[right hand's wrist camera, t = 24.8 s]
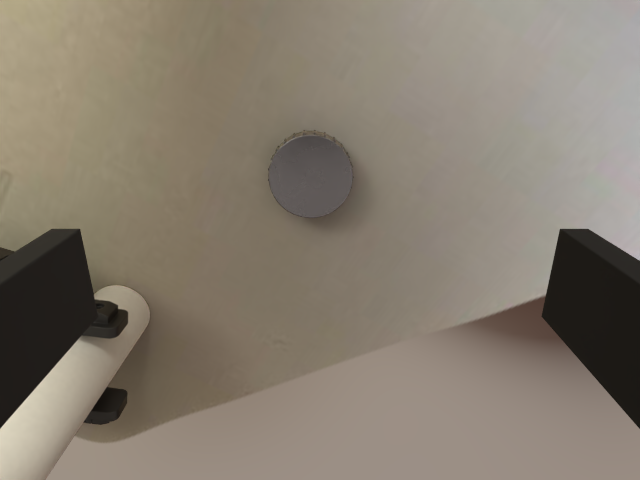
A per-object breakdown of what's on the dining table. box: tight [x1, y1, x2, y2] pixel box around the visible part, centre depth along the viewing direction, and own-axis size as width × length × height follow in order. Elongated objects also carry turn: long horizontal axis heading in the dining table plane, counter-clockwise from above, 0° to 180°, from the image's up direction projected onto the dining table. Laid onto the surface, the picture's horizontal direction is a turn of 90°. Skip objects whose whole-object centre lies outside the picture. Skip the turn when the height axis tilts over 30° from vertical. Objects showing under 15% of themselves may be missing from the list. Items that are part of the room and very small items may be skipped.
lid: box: [268, 130, 353, 218], centre depth 29 cm, size 5×5×2 cm
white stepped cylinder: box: [0, 285, 150, 480], centre depth 24 cm, size 4×4×20 cm
